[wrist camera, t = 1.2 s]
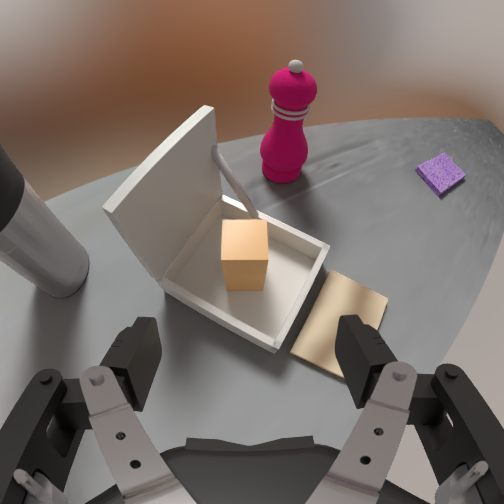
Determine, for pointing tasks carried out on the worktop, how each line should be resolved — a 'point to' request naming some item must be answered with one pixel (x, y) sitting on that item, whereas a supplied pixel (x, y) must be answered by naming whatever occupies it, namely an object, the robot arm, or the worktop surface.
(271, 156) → the pepper mill
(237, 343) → the worktop surface
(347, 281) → the board
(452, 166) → the sponges
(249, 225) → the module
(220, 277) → the equipment case
